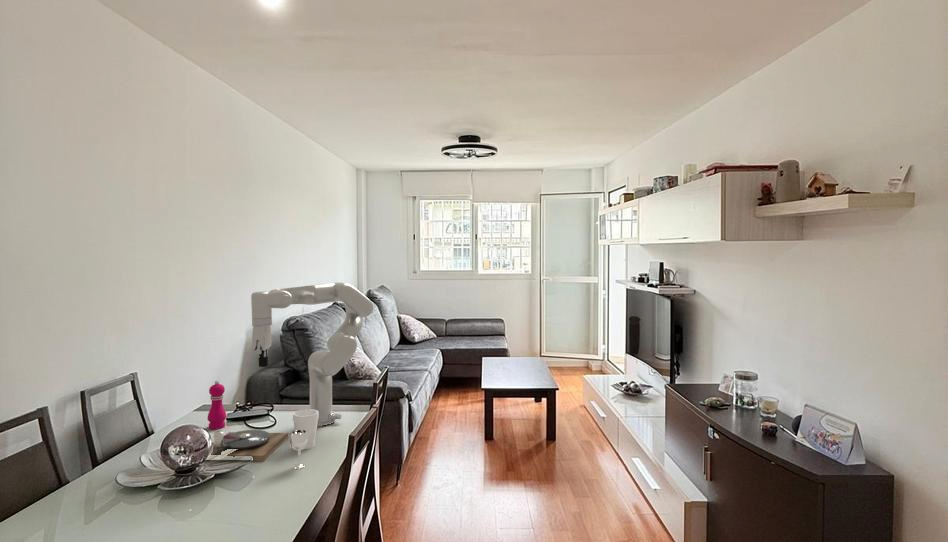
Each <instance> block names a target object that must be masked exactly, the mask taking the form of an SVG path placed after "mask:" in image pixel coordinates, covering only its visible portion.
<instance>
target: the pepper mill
mask: <svg viewBox="0 0 948 542" xmlns="http://www.w3.org/2000/svg"><path fill="white" fill-rule="evenodd" d="M208 390H209V391H208V393H209V395H210V401H211V407H210V409H209V412H208V414H207V421H208V422H209V423H208V429H209V430H220V429H223V428H225V427H226V422H225V420H226V419H227V412H226V409H225V408H224V405H223V399H224V396H225V395H224V393H225V391H226V389H225V386H224V385H223V384H221V383H220V380H215V381H214V383H213V384H212V385H210V387H209V389H208Z"/></svg>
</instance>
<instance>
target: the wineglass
mask: <svg viewBox="0 0 948 542" xmlns="http://www.w3.org/2000/svg"><path fill="white" fill-rule="evenodd" d="M289 441H290V447H291V449H292V450H294V451H297V457H298V460H297V463H295V464H293V465H292V468H293V469H294V470H295V469H296V470H297V469H299V470H300V469H303V467H304V468H305V467H306V464H305V463H301V460H300V459H301V458H300V457H301V455H302V454H301V451H303V450H305V449H304V448H306V446H307V444H308V437H307V433H306V431H305V430H296V431H295V430H293V431H292V432H291V435H290V440H289Z"/></svg>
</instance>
